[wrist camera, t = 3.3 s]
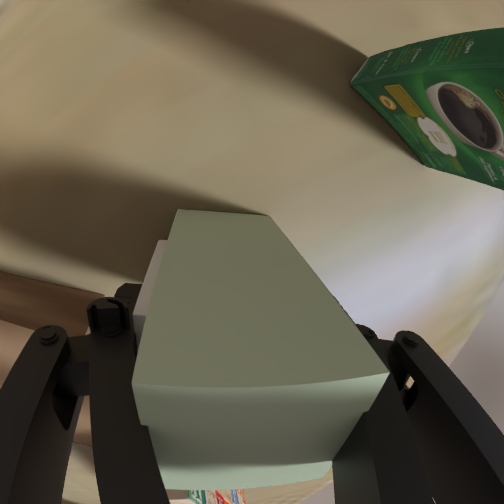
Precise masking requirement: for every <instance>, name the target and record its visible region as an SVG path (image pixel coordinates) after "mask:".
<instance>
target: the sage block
mask: <svg viewBox="0 0 504 504" xmlns="http://www.w3.org/2000/svg"><path fill="white" fill-rule="evenodd" d="M389 373H390V372H389V370H388V369H387V368H386V366H385V365H384V364H383V362H382V361H381V359H380V358H379V357H378V355H377V354H376V353H375V351H374V350H373V348H372V347H371V346H370V344H369V343H368V342H367V340H366V339H365V338H364V336H363V335H362V334H361V332H360V331H359V330H358V328H357V327H356V326H355V324H354V323H353V322H352V320H351V319H350V318H349V316H348V315H347V314H346V312H345V311H344V310H343V308H342V307H341V306H340V304H339V303H338V302H337V300H336V299H335V298H334V297H333V295H332V294H331V293H330V291H329V290H328V289H327V287H326V286H325V285H324V284H323V282H322V281H321V280H320V278H319V277H318V276H317V275H316V273H315V272H314V271H313V270H312V268H311V267H310V266H309V264H308V263H307V262H306V261H305V259H304V258H303V257H302V256H301V254H300V253H299V252H298V251H297V249H296V248H295V247H294V246H293V244H292V243H291V242H290V241H289V239H288V238H287V237H286V236H285V234H284V233H283V232H282V231H281V229H280V228H279V227H278V226H277V224H276V223H275V222H274V221H273V220H272V218H271V217H270V216H263V215H252V214H240V213H227V212H214V211H200V210H184V209H177V212H176V215H175V218H174V221H173V224H172V228H171V231H170V234H169V237H168V240H167V244H166V247H165V250H164V253H163V257H162V260H161V264H160V267H159V271H158V274H157V278H156V281H155V285H154V289H153V292H152V296H151V300H150V304H149V308H148V312H147V316H146V320H145V324H144V328H143V332H142V336H141V341H140V345H139V350H138V354H137V359H136V363H135V368H134V373H133V378H132V388H133V393H134V397H135V402H136V406H137V411H138V415H139V419H140V423H141V425H146V426H148V429H149V433H150V437H151V441H152V445H153V449H154V453H155V456H156V460H157V463H158V467H159V470H160V473H161V477H162V480H163V483H164V486H165V489H176V490H232V489H247V488H259V487H268V486H276V485H284V484H290V483H297V482H302V481H308V480H313V479H318V478H323V476H324V475H325V474H326V473H327V471H328V470H329V469H330V467H331V466H332V460H333V458H334V457H335V456H336V454H337V453H338V451H339V450H340V448H341V447H342V445H343V444H344V442H345V441H346V439H347V438H348V436H349V435H350V433H351V432H352V430H353V428H354V427H355V425H356V424H357V422H358V420H359V419H360V417H361V415H362V414H363V412H367V411H369V409H370V407H371V406H372V404H373V402H374V400H375V399H376V397H377V395H378V393H379V392H380V390H381V388H382V386H383V384H384V382H385V381H386V379H387V377H388V375H389Z"/></svg>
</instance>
